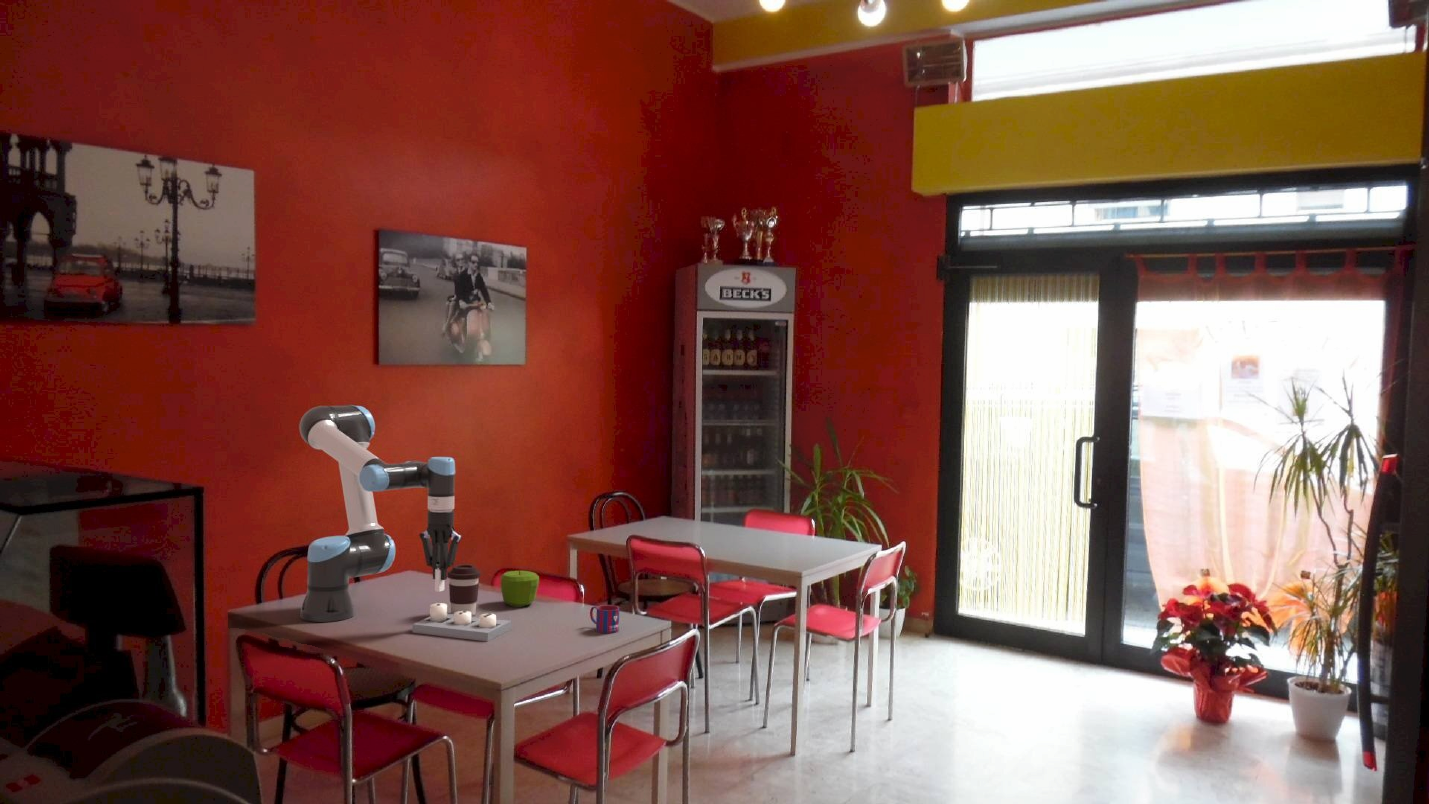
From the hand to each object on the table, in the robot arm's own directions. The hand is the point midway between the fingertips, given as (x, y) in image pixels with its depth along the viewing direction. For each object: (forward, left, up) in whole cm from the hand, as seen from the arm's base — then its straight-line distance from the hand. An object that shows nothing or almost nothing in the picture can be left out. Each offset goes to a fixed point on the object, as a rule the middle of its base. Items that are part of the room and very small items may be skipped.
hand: (439, 590), depth 285 cm
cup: (+45, +17, -11) cm, 49 cm away
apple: (+8, +35, -11) cm, 37 cm away
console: (+8, 0, -11) cm, 13 cm away
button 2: (+8, 0, -10) cm, 13 cm away
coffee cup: (-1, +16, -11) cm, 20 cm away
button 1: (0, 0, -9) cm, 9 cm away
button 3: (+16, 0, -10) cm, 19 cm away
